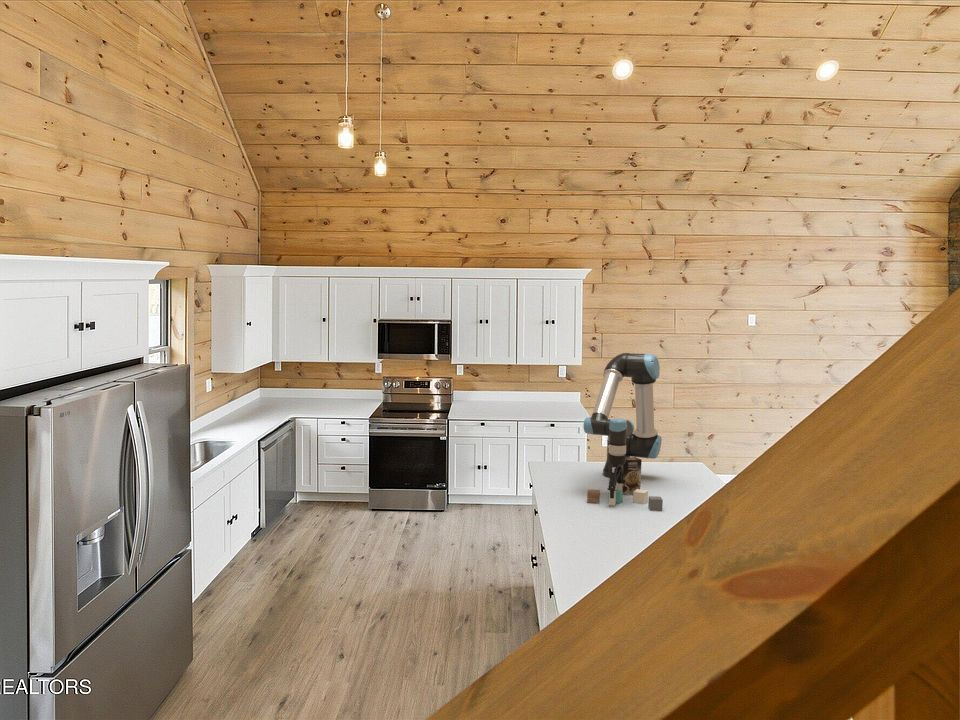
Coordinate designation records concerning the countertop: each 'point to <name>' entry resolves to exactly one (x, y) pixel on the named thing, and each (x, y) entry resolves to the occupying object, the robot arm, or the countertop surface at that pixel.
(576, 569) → the countertop surface
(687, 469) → the countertop surface
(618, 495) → the teal cube
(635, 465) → the coffee box
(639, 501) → the cream cube
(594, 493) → the walnut cube
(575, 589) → the countertop surface
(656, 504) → the charcoal cube
